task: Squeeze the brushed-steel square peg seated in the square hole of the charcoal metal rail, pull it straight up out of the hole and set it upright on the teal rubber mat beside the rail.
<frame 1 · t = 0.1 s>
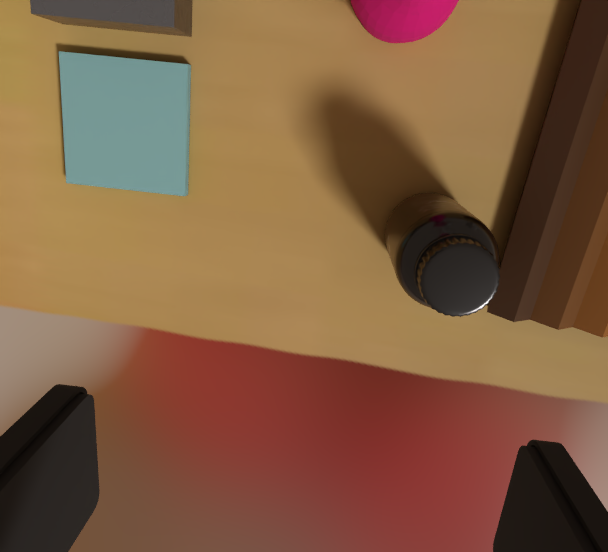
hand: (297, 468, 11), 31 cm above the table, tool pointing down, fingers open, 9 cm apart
teal mat: (128, 126, 39), on the table
supplement bottle: (425, 232, 40), on the table
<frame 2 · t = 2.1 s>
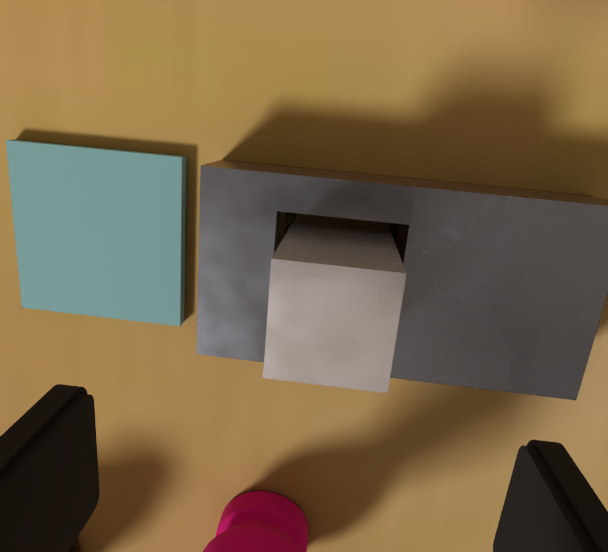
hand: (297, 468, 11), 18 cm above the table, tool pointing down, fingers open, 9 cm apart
teal mat: (103, 234, 29), on the table
steel peg: (337, 259, 28), resting in rail
pepper mill: (265, 523, 35), on the table
rail: (389, 265, 28), on the table
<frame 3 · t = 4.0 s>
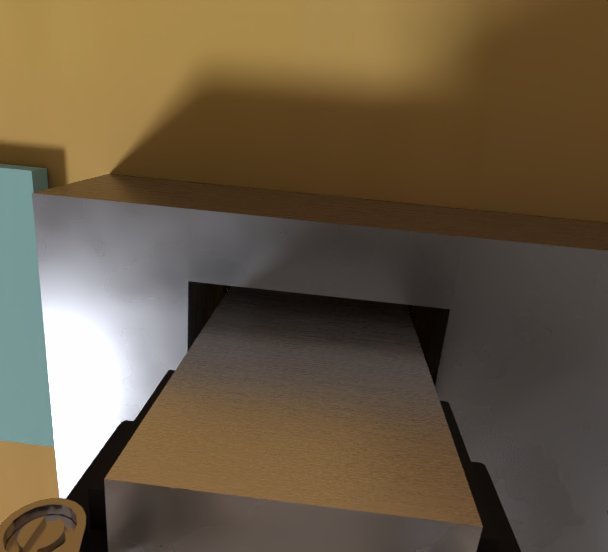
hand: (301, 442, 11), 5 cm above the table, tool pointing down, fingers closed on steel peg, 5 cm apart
steel peg: (313, 341, 17), resting in rail, touching gripper
rail: (402, 351, 16), on the table
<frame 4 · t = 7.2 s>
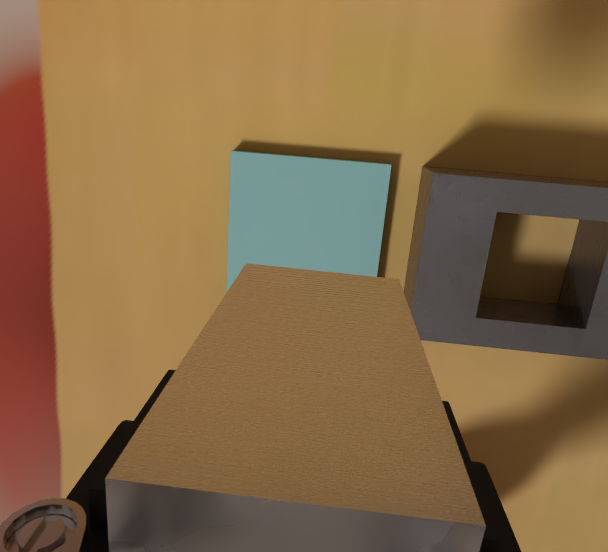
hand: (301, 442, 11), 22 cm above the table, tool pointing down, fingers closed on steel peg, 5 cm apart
teal mat: (305, 233, 32), on the table
steel peg: (314, 340, 17), point 17 cm above the table, touching gripper
rail: (566, 258, 31), on the table
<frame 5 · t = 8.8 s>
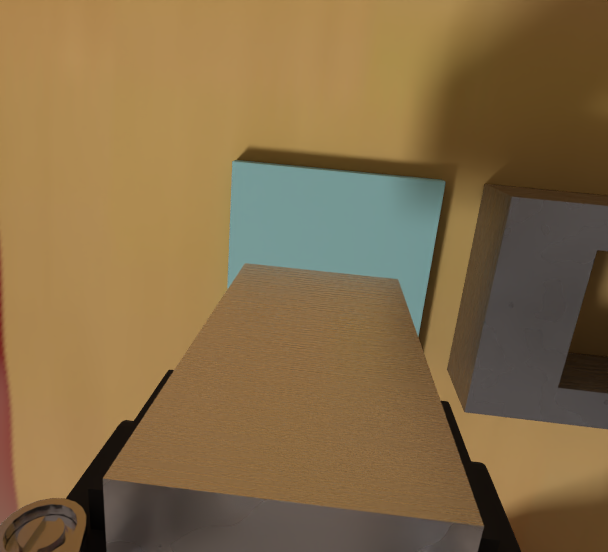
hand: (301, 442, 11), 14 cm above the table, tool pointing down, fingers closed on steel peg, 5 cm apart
teal mat: (327, 268, 25), on the table
steel peg: (313, 340, 17), point 9 cm above the table, touching gripper
when the fingers open (8 cm above the table, at t = 10.4 s): steel peg drops 1 cm, resting on teal mat.
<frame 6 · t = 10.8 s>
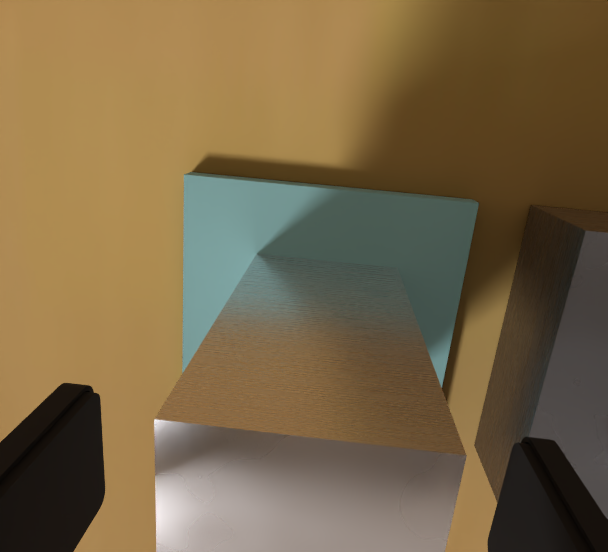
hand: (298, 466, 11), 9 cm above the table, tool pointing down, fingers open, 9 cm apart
teal mat: (316, 315, 19), on the table
steel peg: (319, 325, 18), point 1 cm above the table, touching teal mat
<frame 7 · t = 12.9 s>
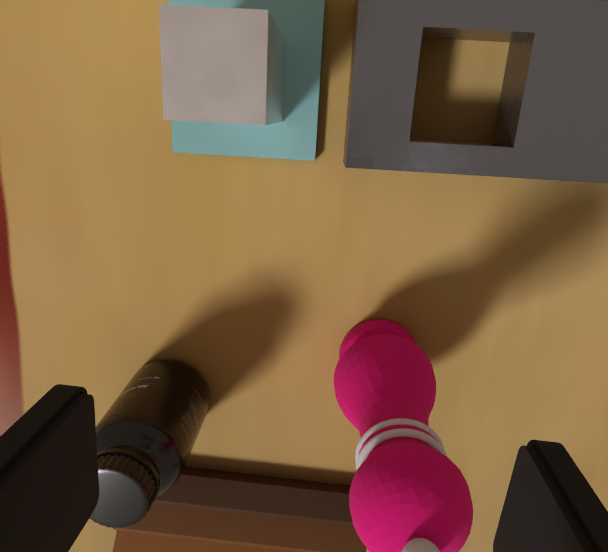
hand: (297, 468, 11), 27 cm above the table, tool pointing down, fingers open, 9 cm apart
teal mat: (246, 80, 33), on the table
steel peg: (246, 80, 32), point 1 cm above the table, touching teal mat
pepper mill: (377, 352, 39), on the table
supplement bottle: (172, 391, 41), on the table
rail: (498, 94, 33), on the table
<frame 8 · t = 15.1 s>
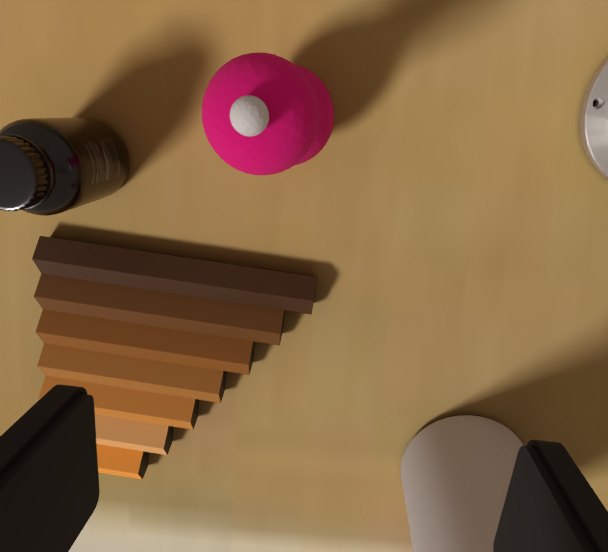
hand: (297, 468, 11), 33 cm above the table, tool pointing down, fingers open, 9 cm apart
pepper mill: (291, 116, 40), on the table
supplement bottle: (94, 158, 43), on the table
pan flute: (178, 367, 49), on the table
cylinder vase: (461, 462, 50), on the table
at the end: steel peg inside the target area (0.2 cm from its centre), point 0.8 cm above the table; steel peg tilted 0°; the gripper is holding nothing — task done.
